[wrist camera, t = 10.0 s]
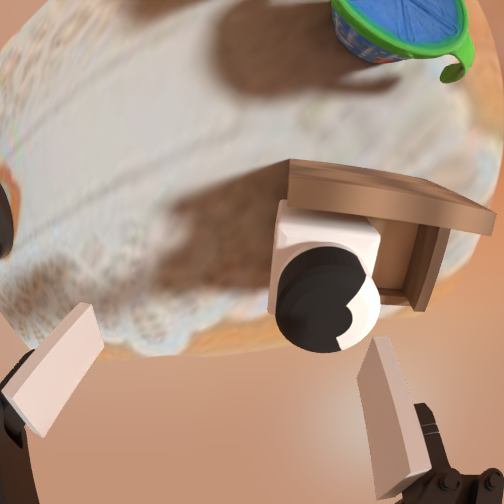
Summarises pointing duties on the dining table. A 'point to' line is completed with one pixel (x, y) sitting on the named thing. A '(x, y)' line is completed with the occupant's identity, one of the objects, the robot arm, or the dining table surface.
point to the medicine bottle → (323, 278)
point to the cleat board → (392, 221)
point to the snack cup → (406, 31)
